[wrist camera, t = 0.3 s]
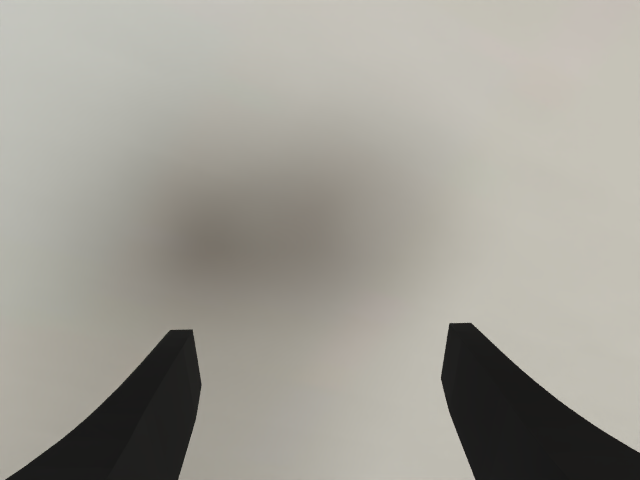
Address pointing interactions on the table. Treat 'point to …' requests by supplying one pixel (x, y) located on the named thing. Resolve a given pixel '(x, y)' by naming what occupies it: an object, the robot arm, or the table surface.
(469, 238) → the table surface
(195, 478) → the table surface
